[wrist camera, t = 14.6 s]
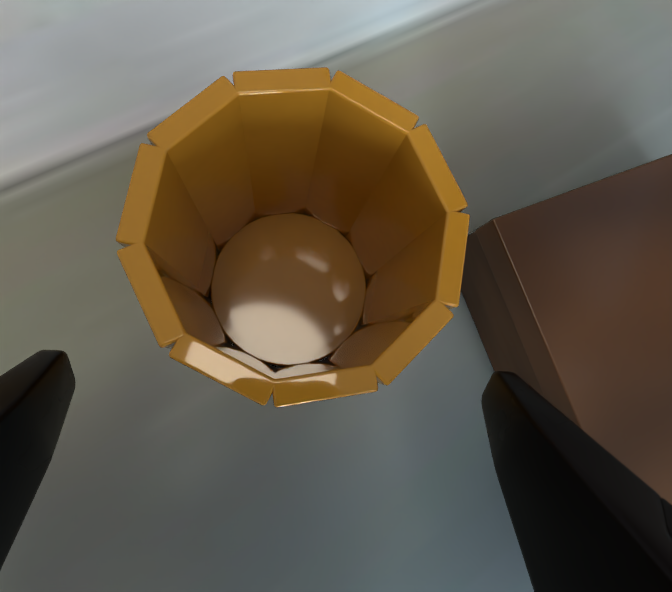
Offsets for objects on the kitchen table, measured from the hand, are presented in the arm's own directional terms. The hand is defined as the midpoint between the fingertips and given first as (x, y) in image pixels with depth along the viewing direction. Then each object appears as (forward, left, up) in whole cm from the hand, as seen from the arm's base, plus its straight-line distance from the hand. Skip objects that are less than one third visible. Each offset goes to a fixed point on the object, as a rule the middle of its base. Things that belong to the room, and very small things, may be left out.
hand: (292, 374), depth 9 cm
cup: (+3, -1, -6) cm, 7 cm away
